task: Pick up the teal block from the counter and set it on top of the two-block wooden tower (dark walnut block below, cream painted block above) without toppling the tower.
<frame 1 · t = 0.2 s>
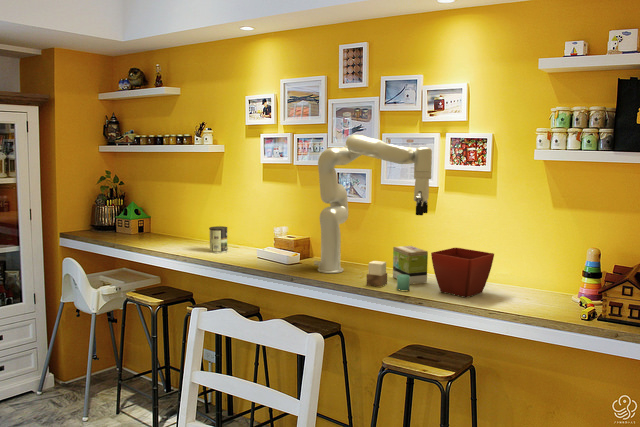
hand: (421, 214, 246), 31 cm above the worktop, tool pointing down, fingers open, 9 cm apart
plant pot: (461, 293, 231), on the worktop
teal block: (403, 289, 235), on the worktop
coffee can: (218, 251, 319), on the worktop
tea box: (409, 280, 252), on the worktop
cream block: (377, 273, 243), point 5 cm above the worktop, touching walnut base block
walnut base block: (376, 284, 244), on the worktop, touching cream block
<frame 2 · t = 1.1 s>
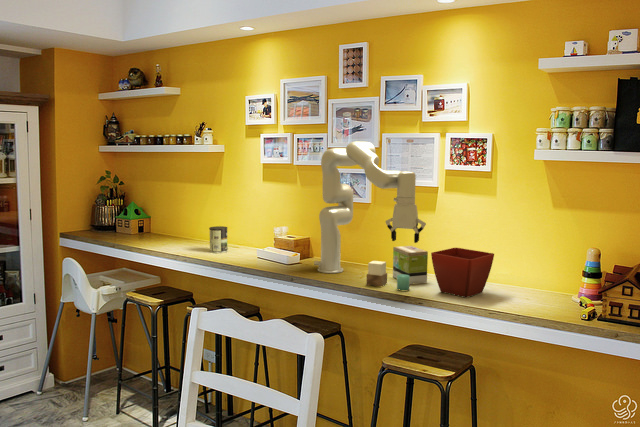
hand: (404, 241, 233), 21 cm above the worktop, tool pointing down, fingers open, 9 cm apart
nothing on the worktop moved.
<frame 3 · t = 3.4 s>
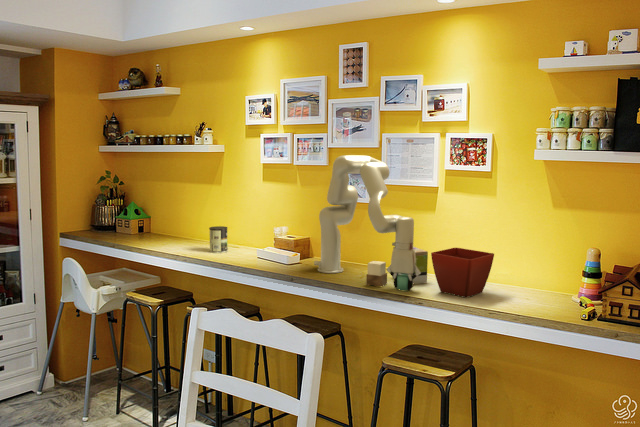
hand: (403, 287, 235), 1 cm above the worktop, tool pointing down, fingers closed on teal block, 5 cm apart
teal block: (403, 289, 235), on the worktop, touching gripper
everything else where it was.
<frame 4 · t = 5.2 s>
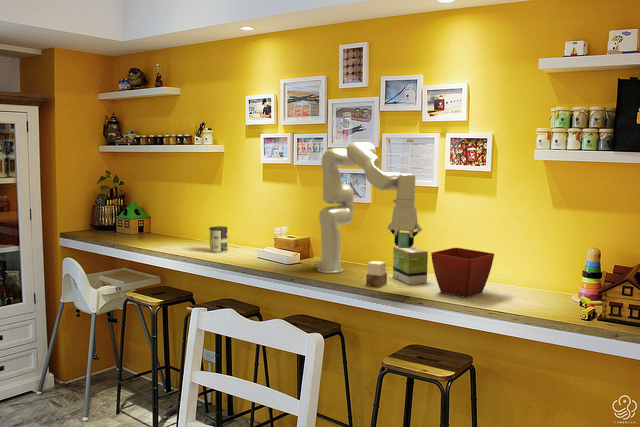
hand: (403, 245, 233), 19 cm above the worktop, tool pointing down, fingers closed on teal block, 5 cm apart
teal block: (403, 247, 233), point 18 cm above the worktop, touching gripper
everything else where it was.
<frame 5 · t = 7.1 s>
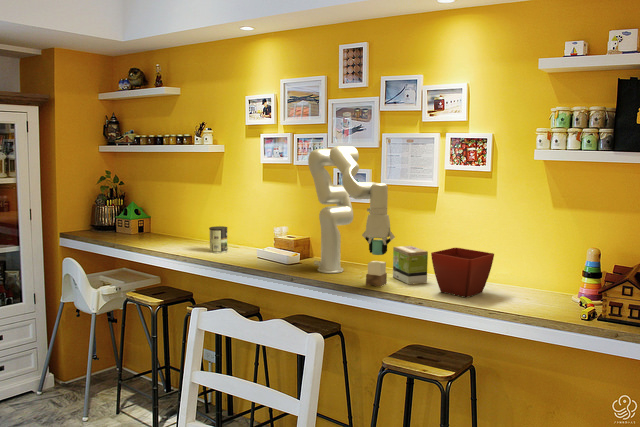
hand: (377, 252, 242), 14 cm above the worktop, tool pointing down, fingers closed on teal block, 5 cm apart
teal block: (377, 254, 242), point 14 cm above the worktop, touching gripper
everything else where it was.
when the fingers open (12 cm above the worktop, at t = 8.6 s): teal block drops 2 cm, point 10 cm above the worktop.
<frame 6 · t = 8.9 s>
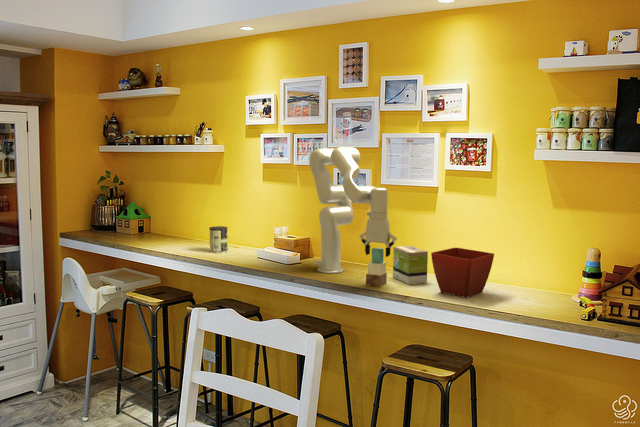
hand: (377, 255, 242), 13 cm above the worktop, tool pointing down, fingers open, 8 cm apart
teal block: (377, 262, 243), point 10 cm above the worktop
everything else where it was.
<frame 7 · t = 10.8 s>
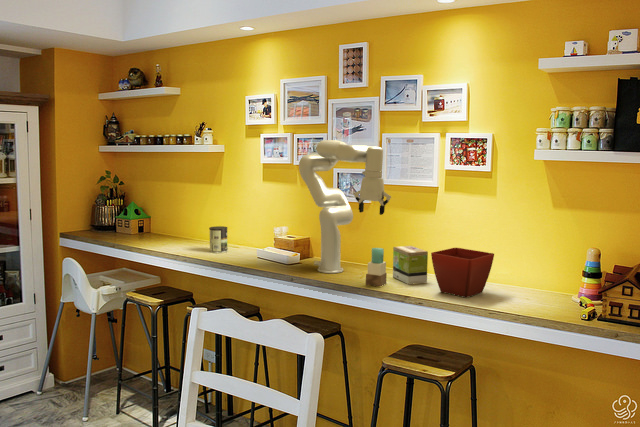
hand: (371, 213, 246), 31 cm above the worktop, tool pointing down, fingers open, 9 cm apart
teal block: (377, 262, 243), point 10 cm above the worktop, touching cream block
cream block: (376, 273, 243), point 5 cm above the worktop, touching teal block, walnut base block
everything else where it was.
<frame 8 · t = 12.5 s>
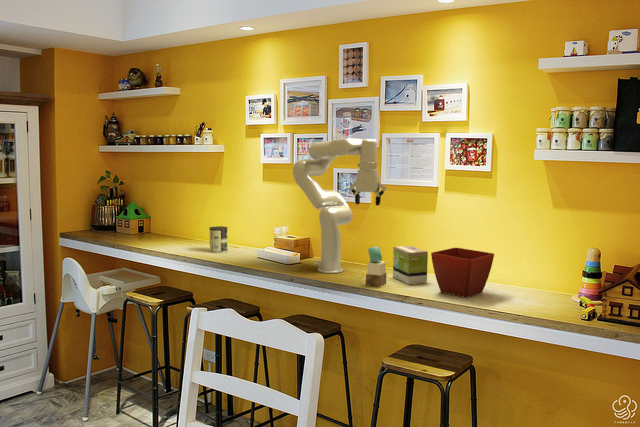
hand: (367, 204, 250), 34 cm above the worktop, tool pointing down, fingers open, 9 cm apart
teal block: (376, 261, 243), point 10 cm above the worktop, tilted 14°, touching cream block
everything else where it was.
at the end: teal block 0.1 cm off-centre on the walnut base block, point 10.6 cm above the walnut base block's base; cream block tilted 0°; the gripper is holding nothing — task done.
